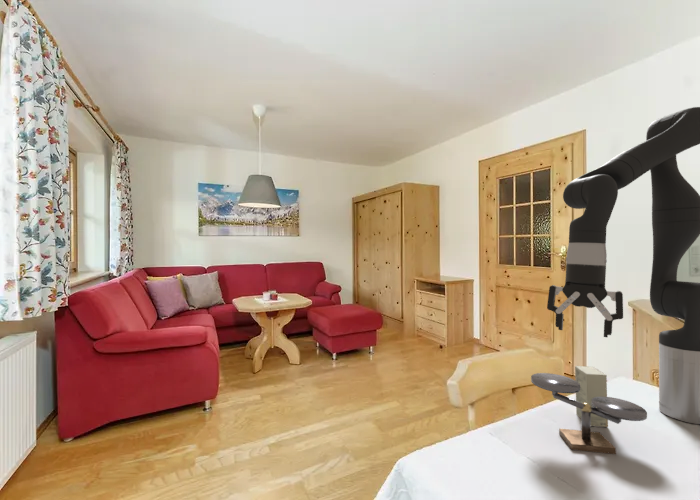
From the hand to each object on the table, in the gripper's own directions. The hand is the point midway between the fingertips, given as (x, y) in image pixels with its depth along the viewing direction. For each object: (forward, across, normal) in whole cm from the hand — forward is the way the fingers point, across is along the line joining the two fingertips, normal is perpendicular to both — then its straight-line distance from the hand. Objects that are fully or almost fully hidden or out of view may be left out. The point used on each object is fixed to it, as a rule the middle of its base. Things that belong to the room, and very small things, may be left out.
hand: (582, 333), depth 77 cm
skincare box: (+22, -2, -6) cm, 23 cm away
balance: (+22, -2, +6) cm, 23 cm away
